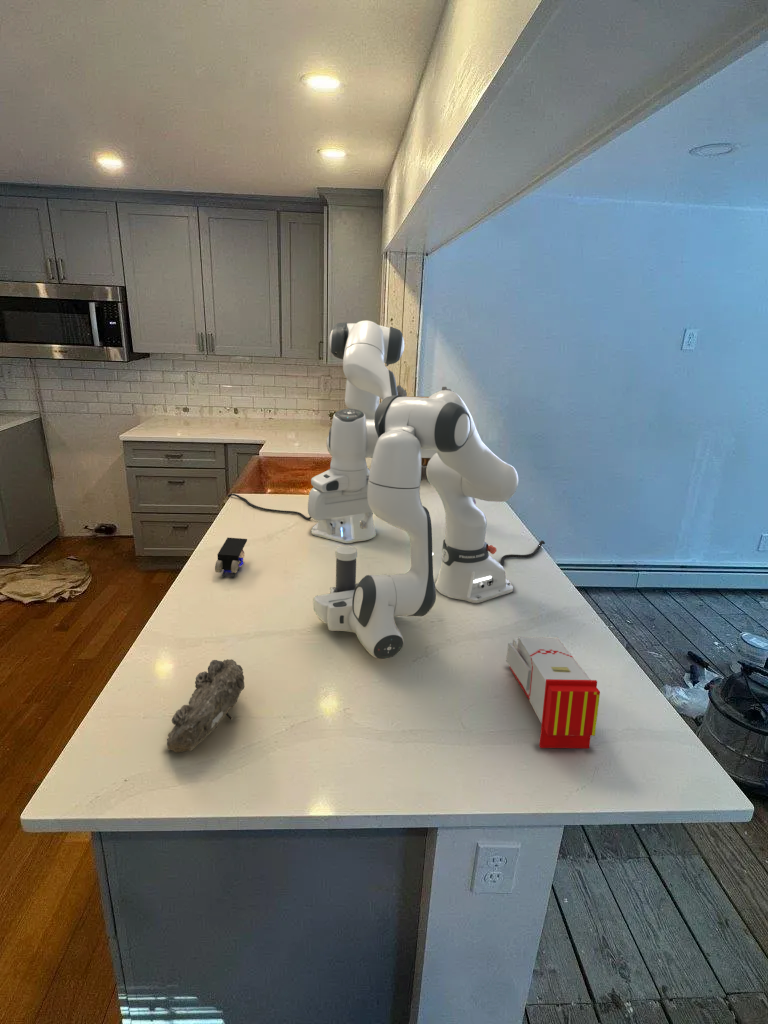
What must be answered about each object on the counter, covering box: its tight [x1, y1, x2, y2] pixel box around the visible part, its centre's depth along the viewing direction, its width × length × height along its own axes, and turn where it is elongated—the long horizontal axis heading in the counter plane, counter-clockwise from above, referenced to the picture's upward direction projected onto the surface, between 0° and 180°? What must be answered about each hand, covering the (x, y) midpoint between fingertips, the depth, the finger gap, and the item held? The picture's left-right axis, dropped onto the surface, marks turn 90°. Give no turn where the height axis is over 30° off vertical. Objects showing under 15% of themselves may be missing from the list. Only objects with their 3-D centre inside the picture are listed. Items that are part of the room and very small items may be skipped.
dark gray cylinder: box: [335, 557, 357, 592], centre depth 147 cm, size 5×5×16 cm
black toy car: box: [214, 537, 248, 578], centre depth 166 cm, size 7×8×15 cm
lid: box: [335, 544, 358, 561], centre depth 144 cm, size 6×6×2 cm
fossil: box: [166, 658, 245, 754], centre depth 106 cm, size 22×10×15 cm
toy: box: [505, 636, 601, 749], centre depth 115 cm, size 12×13×30 cm
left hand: (347, 531), depth 142 cm, fingers open, 8 cm apart
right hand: (344, 587), depth 148 cm, fingers closed on dark gray cylinder, 5 cm apart
